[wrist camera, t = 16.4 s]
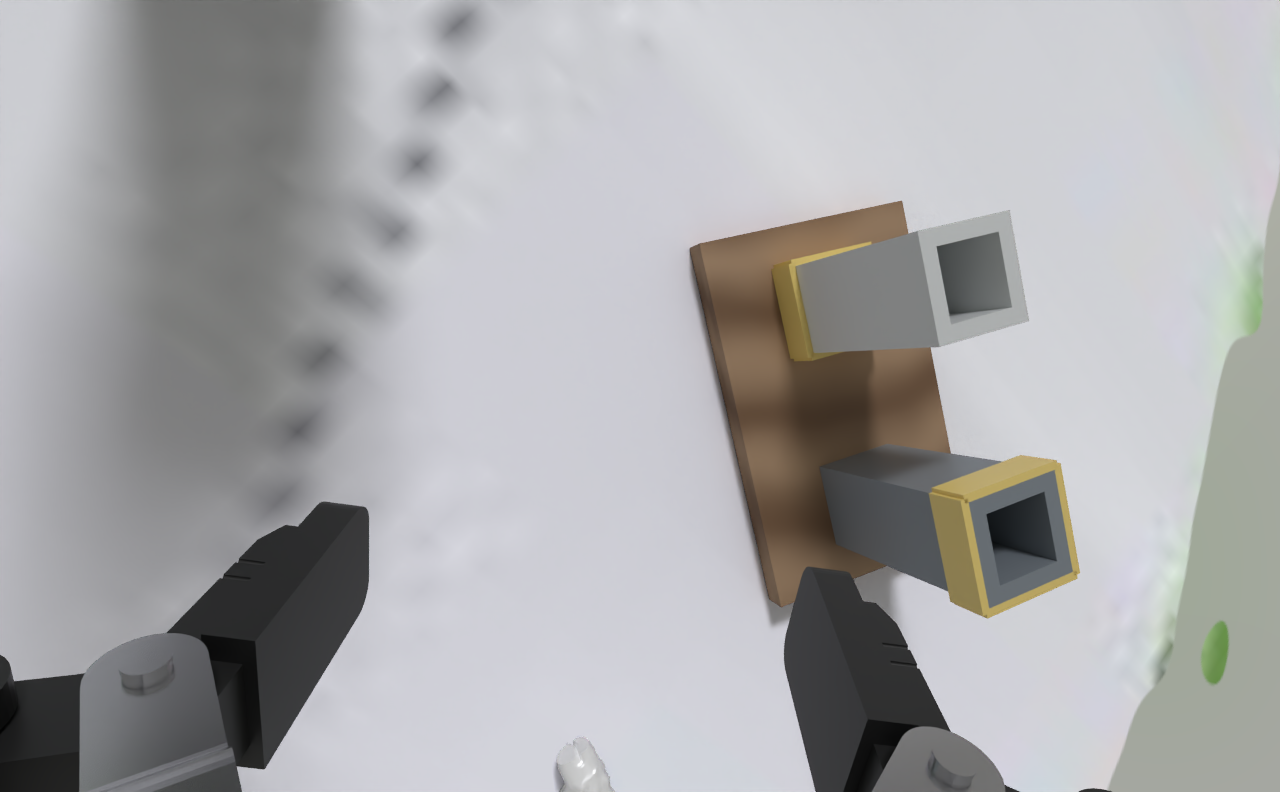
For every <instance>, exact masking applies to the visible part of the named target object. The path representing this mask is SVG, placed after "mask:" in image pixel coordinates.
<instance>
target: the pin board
mask: <svg viewBox="0 0 1280 792" xmlns="http://www.w3.org/2000/svg"><path fill="white" fill-rule="evenodd" d="M906 234H908V229H907V224H906V219H905V213H904V208H903V203H902V201H898V202H893V203H889V204H884V205H879V206H875V207H870V208H865V209H860V210H856V211H851V212H846V213H842V214H837V215H832V216H828V217H823V218H818V219H813V220H809V221H804V222H799V223H795V224H790V225H785V226H780V227H776V228H771V229H766V230H762V231H757V232H752V233H747V234H743V235H738V236H733V237H729V238H724V239H719V240H715V241H710V242H705V243H700V244H698V245H696V246H693V247H691V248H690V252H691V257H692V261H693V265H694V270H695V274H696V279H697V283H698V287H699V292H700V296H701V301H702V305H703V309H704V314H705V318H706V323H707V327H708V331H709V336H710V340H711V344H712V349H713V353H714V358H715V362H716V366H717V371H718V375H719V380H720V384H721V388H722V393H723V397H724V402H725V406H726V410H727V415H728V419H729V424H730V428H731V432H732V437H733V441H734V446H735V450H736V454H737V459H738V463H739V468H740V472H741V476H742V481H743V485H744V490H745V494H746V498H747V503H748V507H749V512H750V516H751V520H752V525H753V529H754V534H755V538H756V542H757V547H758V551H759V556H760V560H761V564H762V569H763V573H764V578H765V582H766V586H767V591H768V595H769V599H770V600H771V601H773V602H774V603H776V604H777V605H779V606H780V607H783V606H785V605H788V604H791V603H793V602H795V599H796V595H797V591H798V588H799V584H800V580H801V577H802V574H803V571H804V570H805V568H806V567H817V568H824V569H832V570H839V571H847V572H849V573H850V574H851V576H852V578H853V579H854V578H857V577H859V576H862V575H865V574H867V573H870V572H872V571H875V570H877V569H880V568H882V567H885V566H886V565H884V564H882V563H879V562H877V561H875V560H872V559H870V558H867V557H865V556H863V555H860V554H858V553H855V552H853V551H851V550H848V549H846V548H844V547H841V546H839V545H836V541H835V537H834V532H833V528H832V523H831V518H830V514H829V509H828V505H827V500H826V496H825V491H824V486H823V482H822V477H821V473H820V468H819V467H820V466H823V465H826V464H829V463H832V462H835V461H837V460H840V459H843V458H846V457H849V456H852V455H855V454H858V453H861V452H864V451H867V450H870V449H873V448H876V447H879V446H882V445H885V444H892V445H898V446H905V447H911V448H917V449H924V450H930V451H937V452H943V453H950V454H951V452H950V447H949V442H948V437H947V431H946V426H945V421H944V416H943V411H942V405H941V400H940V395H939V390H938V385H937V380H936V374H935V369H934V364H933V359H932V354H931V348H930V347H928V348H907V349H887V350H867V351H846V352H842V353H838V354H835V355H831V356H828V357H824V358H820V359H817V360H813V361H794V359H790V354H789V349H788V345H787V340H786V335H785V331H784V326H783V322H782V317H781V312H780V308H779V303H778V298H777V294H776V289H775V284H774V280H773V275H772V270H771V269H774V265H776V264H779V263H782V262H785V261H789V260H792V259H797V258H801V257H805V256H810V255H814V254H818V253H823V252H827V251H831V250H836V249H840V248H845V247H849V246H853V245H858V244H862V243H866V242H871V243H872V244H875V243H878V242H882V241H885V240H889V239H892V238H896V237H899V236H902V235H906Z"/></svg>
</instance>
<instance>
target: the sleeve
mask: <svg viewBox="0 0 1280 792" xmlns="http://www.w3.org/2000/svg"><path fill="white" fill-rule="evenodd" d="M819 468H820V473H821V477H822V482H823V486H824V491H825V496H826V500H827V505H828V509H829V514H830V518H831V523H832V528H833V532H834V537H835V541H836V545H839V546H841V547H844V548H846V549H848V550H851V551H853V552H855V553H858V554H860V555H863V556H865V557H867V558H870V559H872V560H875V561H877V562H879V563H882V564H884V565H886V566H889V567H891V568H894V569H896V570H898V571H901V572H903V573H906V574H908V575H910V576H913V577H915V578H917V579H920V580H922V581H925V582H927V583H929V584H932V585H934V586H937V587H939V588H941V589H944V590H946V591H948V592H949V597H950V602H952V603H954V604H955V605H958V606H960V607H962V608H965V609H967V610H969V611H971V612H974V613H976V614H978V615H981V616H983V617H985V618H990V617H992V616H994V615H996V614H999V613H1001V612H1003V611H1005V610H1008V609H1010V608H1012V607H1014V606H1017V605H1019V604H1021V603H1023V602H1026V601H1028V600H1030V599H1032V598H1035V597H1037V596H1039V595H1041V594H1044V593H1046V592H1048V591H1050V590H1053V589H1055V588H1057V587H1059V586H1062V585H1064V584H1066V583H1068V582H1071V581H1073V580H1075V579H1077V574H1079V573H1080V570H1079V564H1078V559H1077V553H1076V548H1075V542H1074V536H1073V531H1072V525H1071V520H1070V514H1069V508H1068V503H1067V497H1066V492H1065V486H1064V480H1063V475H1062V469H1061V464H1060V463H1057V461H1056V460H1051V459H1044V458H1037V457H1030V456H1022V455H1020V456H1017V457H1014V458H1012V459H1009V460H1006V461H1003V462H1001V461H995V460H988V459H982V458H975V457H969V456H962V455H956V454H950V453H943V452H937V451H930V450H924V449H917V448H911V447H905V446H898V445H892V444H885V445H882V446H879V447H876V448H873V449H870V450H867V451H864V452H861V453H858V454H855V455H852V456H849V457H846V458H843V459H840V460H837V461H835V462H832V463H829V464H826V465H823V466H820V467H819Z"/></svg>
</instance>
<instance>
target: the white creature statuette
mask: <svg viewBox="0 0 1280 792" xmlns="http://www.w3.org/2000/svg"><path fill="white" fill-rule="evenodd" d="M557 765H558V770H559V772H560V774H561V775H562V777H563V779H564V783H565V784H564V785H563V787H562V789H561V790H560V792H615V791H614V789H613V788H612V787H611V786H610V776H608V773H607V772H606V770H605V765H604V763H603V761H602V760H601V759H600V758H599V756H598V755H597V753H596V751H595V748H594V747H593V745H592V744H591V742H590V741H589V740H588V739H587V738H586V737H578V738H575V739H574V740H573V745H571V744H569V743H566V745H565V746H564V747H563V748H562V749H561V750H560V752H559V754H558V756H557Z"/></svg>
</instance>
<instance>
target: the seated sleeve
mask: <svg viewBox="0 0 1280 792" xmlns="http://www.w3.org/2000/svg"><path fill="white" fill-rule="evenodd" d="M771 270H772V275H773V280H774V284H775V289H776V294H777V298H778V303H779V308H780V312H781V317H782V322H783V326H784V331H785V335H786V340H787V345H788V349H789V354H790V359H794V361H813V360H817V359H820V358H824V357H828V356H831V355H835V354H838V353H842V352H846V351H867V350H887V349H907V348H928V347H941V346H945V345H948V344H951V343H955V342H958V341H962V340H965V339H969V338H972V337H975V336H979V335H982V334H986V333H989V332H993V331H996V330H1000V329H1003V328H1006V327H1010V326H1013V325H1017V324H1020V323H1024V322H1027V321H1029V318H1028V312H1027V306H1026V301H1025V295H1024V289H1023V284H1022V278H1021V272H1020V267H1019V261H1018V255H1017V250H1016V244H1015V238H1014V233H1013V227H1012V221H1011V216H1010V210H1008V211H1003V212H999V213H995V214H990V215H986V216H982V217H977V218H973V219H968V220H964V221H960V222H955V223H951V224H947V225H942V226H938V227H934V228H929V229H925V230H921V231H916V232H913V233H909V234H906V235H902V236H899V237H896V238H892V239H889V240H885V241H882V242H878V243H875V244H872V243H871V242H866V243H862V244H858V245H853V246H849V247H845V248H840V249H836V250H831V251H827V252H823V253H818V254H814V255H810V256H805V257H801V258H797V259H792V260H789V261H785V262H782V263H779V264H776V265H774V269H771Z"/></svg>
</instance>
